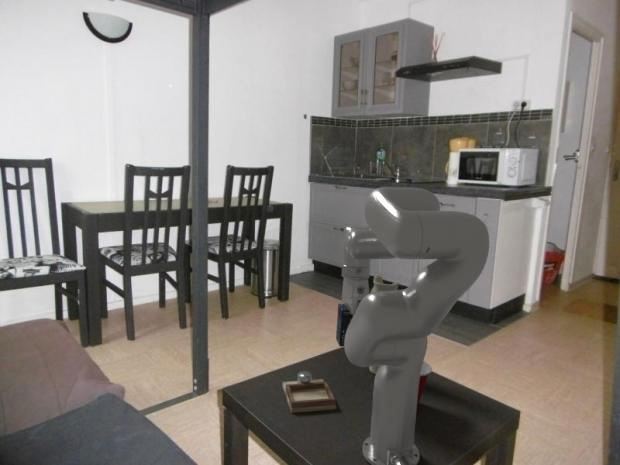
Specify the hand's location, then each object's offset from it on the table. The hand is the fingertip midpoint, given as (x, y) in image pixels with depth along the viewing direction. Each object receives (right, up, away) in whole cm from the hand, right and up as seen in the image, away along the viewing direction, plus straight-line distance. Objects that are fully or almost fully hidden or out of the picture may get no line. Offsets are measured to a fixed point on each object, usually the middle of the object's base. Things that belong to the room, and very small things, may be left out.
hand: (352, 334), depth 125 cm
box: (0, -3, 0) cm, 3 cm away
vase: (+11, -15, +17) cm, 25 cm away
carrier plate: (-12, -17, -1) cm, 21 cm away
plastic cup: (+15, -19, -2) cm, 24 cm away
